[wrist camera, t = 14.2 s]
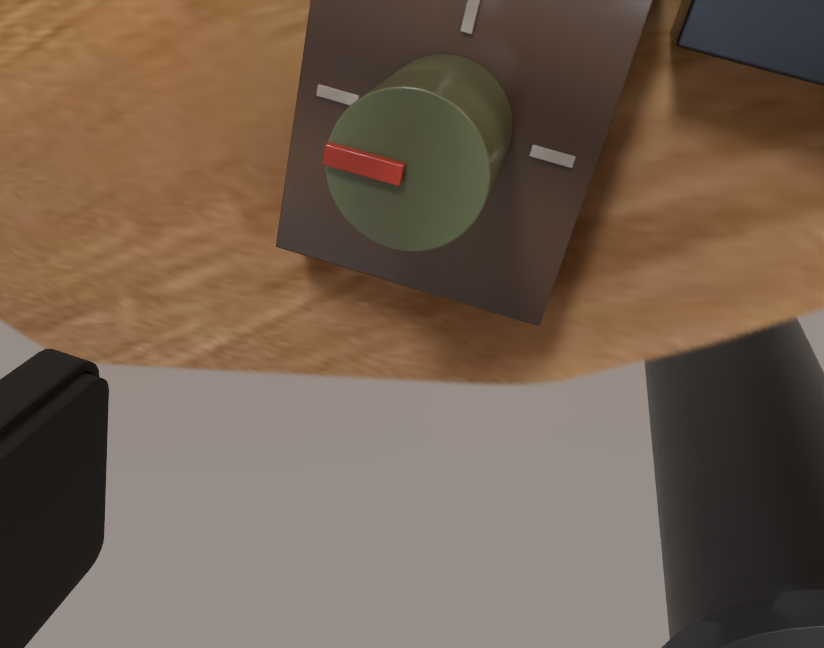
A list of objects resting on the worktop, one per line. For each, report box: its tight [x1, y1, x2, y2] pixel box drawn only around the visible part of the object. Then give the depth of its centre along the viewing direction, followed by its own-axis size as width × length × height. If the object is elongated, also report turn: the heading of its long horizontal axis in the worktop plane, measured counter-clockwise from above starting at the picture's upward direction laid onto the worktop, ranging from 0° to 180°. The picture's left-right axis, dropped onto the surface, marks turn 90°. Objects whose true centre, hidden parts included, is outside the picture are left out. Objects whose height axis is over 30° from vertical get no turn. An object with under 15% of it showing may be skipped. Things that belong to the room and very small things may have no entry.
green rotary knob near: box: [323, 54, 512, 252], centre depth 22 cm, size 4×4×6 cm
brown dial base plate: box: [276, 0, 654, 326], centre depth 26 cm, size 12×10×3 cm
